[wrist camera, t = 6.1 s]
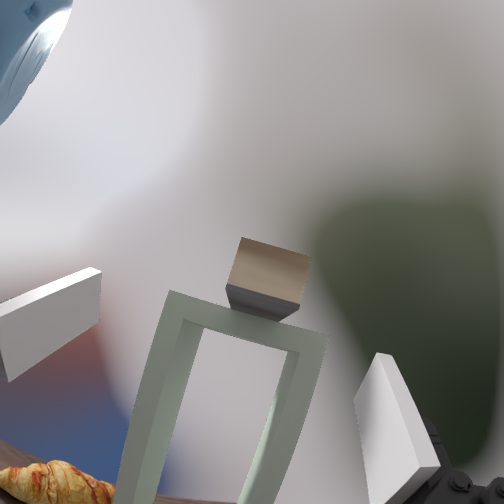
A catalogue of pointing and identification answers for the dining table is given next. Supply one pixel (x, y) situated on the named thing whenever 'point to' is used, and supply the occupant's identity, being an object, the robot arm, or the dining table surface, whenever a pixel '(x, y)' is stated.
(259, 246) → the light wooden bar
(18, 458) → the dining table surface
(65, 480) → the croissant
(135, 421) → the rectangular arch
